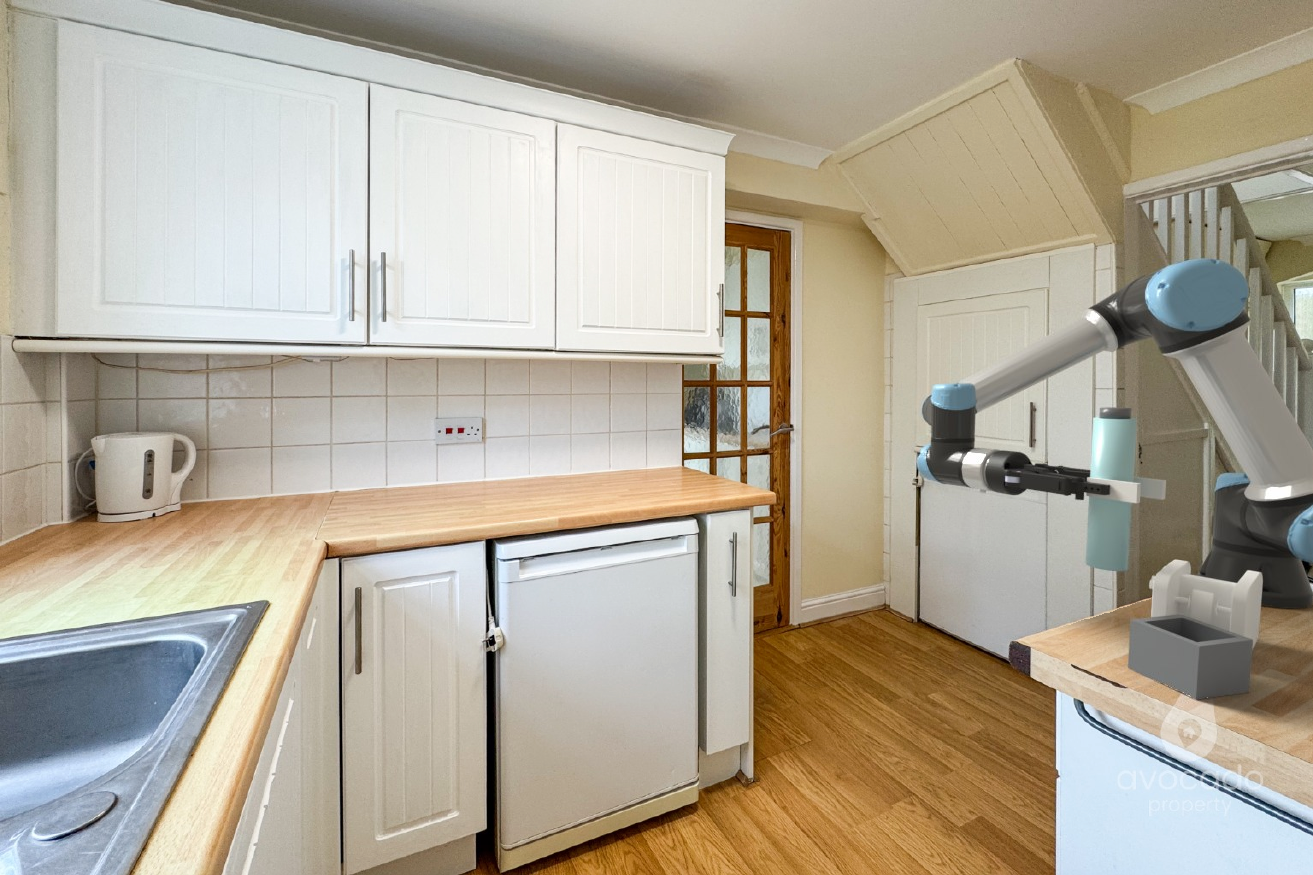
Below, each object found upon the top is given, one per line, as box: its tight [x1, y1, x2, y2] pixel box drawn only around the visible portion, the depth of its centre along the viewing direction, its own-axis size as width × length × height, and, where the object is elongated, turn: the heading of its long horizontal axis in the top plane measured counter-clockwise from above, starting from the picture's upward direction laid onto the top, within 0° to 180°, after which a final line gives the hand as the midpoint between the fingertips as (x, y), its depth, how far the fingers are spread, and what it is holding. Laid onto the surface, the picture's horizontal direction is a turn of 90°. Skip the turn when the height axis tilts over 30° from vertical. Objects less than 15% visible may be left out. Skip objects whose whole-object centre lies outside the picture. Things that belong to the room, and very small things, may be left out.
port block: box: [1127, 614, 1253, 701], centre depth 77 cm, size 9×9×7 cm
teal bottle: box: [1084, 406, 1138, 572], centre depth 85 cm, size 5×5×24 cm
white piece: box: [1148, 558, 1263, 650], centre depth 87 cm, size 15×11×12 cm
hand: (1151, 491), depth 80 cm, fingers closed on teal bottle, 5 cm apart
